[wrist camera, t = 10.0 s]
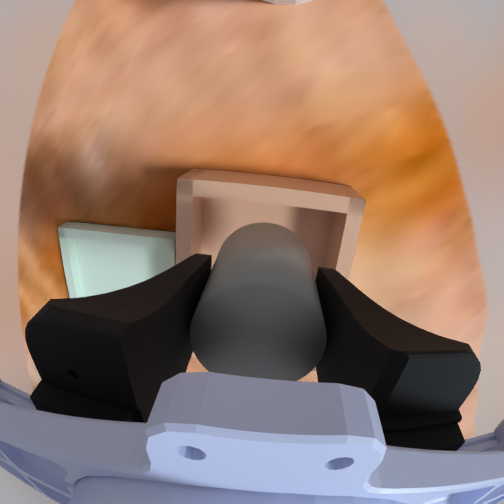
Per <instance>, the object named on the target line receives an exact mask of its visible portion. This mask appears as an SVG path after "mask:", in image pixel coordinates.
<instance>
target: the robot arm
mask: <svg viewBox="0 0 504 504" xmlns="http://www.w3.org/2000/svg"><path fill="white" fill-rule="evenodd" d="M211 265H212V255H207V254H198V253H196V254H194V255H192V256H190V257H188V258H187V259H185V260H183V261H182V262H180V263H178V264H176V265H175V266H173V267H171V268H169V269H168V270H166V271H164V272H162V273H160V274H158V275H156V276H154V277H152V278H150V279H148V280H145V281H143V282H140V283H138V284H135V285H132V286H130V287H126V288H123V289H119V290H116V291H112V292H108V293H104V294H99V295H93V296H87V297H79V298H65V299H50V300H49V301H48V302H47V303H46V304H45V305H44V306H43V307H42V308H41V310H40V311H39V312H38V313H37V314H36V315H35V316H34V317H33V318H32V319H31V320H30V321H29V322H28V323H27V326H26V329H25V338H26V342H27V346H28V349H29V352H30V354H31V357H32V359H33V361H34V363H35V366H36V368H37V370H38V372H39V375H40V377H41V379H42V380H41V381H40V383H39V384H38V386H37V387H36V389H35V390H34V391H33V393H32V395H29V394H27V393H25V392H23V391H21V390H19V389H17V388H15V387H13V386H11V385H9V384H7V383H5V382H3V381H1V380H0V466H1V467H2V468H4V469H5V470H7V471H8V472H9V473H11V474H13V475H14V476H15V477H17V478H18V479H20V480H21V481H23V482H24V483H26V484H27V485H29V486H31V487H32V488H34V489H35V490H37V491H39V492H40V493H42V494H44V495H46V496H47V497H49V498H51V499H53V500H54V501H56V502H58V503H60V504H497V503H499V502H501V501H503V500H504V420H503V421H502V422H501V423H500V424H499V425H498V426H497V427H496V429H495V430H494V432H492V433H488V434H485V435H482V436H478V437H474V438H470V439H466V440H464V438H463V435H462V433H461V430H460V428H459V425H458V422H460V421H461V419H462V416H461V414H460V411H459V408H460V406H461V405H462V404H463V402H464V401H465V399H466V398H467V397H468V395H469V394H470V392H471V391H472V389H473V388H474V386H475V384H476V382H477V381H478V378H479V375H480V371H481V367H480V362H479V360H478V358H477V357H476V355H475V353H474V352H473V350H472V349H471V347H470V346H469V344H466V343H463V342H459V341H455V340H452V339H448V338H444V337H441V336H439V335H436V334H433V333H430V332H428V331H425V330H423V329H421V328H418V327H416V326H414V325H412V324H410V323H408V322H406V321H404V320H402V319H400V318H398V317H397V316H395V315H393V314H392V313H390V312H389V311H387V310H385V309H384V308H382V307H381V306H379V305H378V304H377V303H375V302H374V301H373V300H371V299H370V298H369V297H367V296H366V295H365V294H364V293H362V292H361V291H360V290H359V289H358V288H356V287H355V286H354V285H353V284H352V283H351V282H349V281H348V280H347V279H346V278H345V277H344V276H343V275H341V274H340V273H339V272H338V271H336V270H335V269H333V268H323V267H318V270H317V275H316V280H315V282H316V286H317V290H318V295H319V299H320V304H321V308H322V313H323V318H324V322H325V327H326V332H327V343H326V348H325V351H324V354H323V356H322V358H321V360H320V361H319V363H318V364H317V365H316V370H317V376H318V382H301V381H287V380H274V379H263V378H254V377H245V376H236V375H228V374H221V373H214V372H192V373H185V372H186V369H187V366H188V363H189V361H190V358H191V356H192V353H193V349H192V346H191V343H190V325H191V321H192V319H193V316H194V313H195V311H196V308H197V306H198V303H199V301H200V298H201V295H202V293H203V290H204V288H205V285H206V283H207V280H208V278H209V275H210V273H211Z"/></svg>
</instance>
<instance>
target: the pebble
mask: <svg viewBox="0 0 504 504" xmlns="http://www.w3.org/2000/svg"><path fill="white" fill-rule="evenodd" d="M190 343H191V346H192V349H193V352H194V354H195V356H196V357H197V359H198V360H199V362H200V363H201V364H202V365H203V366H204V367H205V368H206V369H207V370H208V371H209V372H214V373H221V374H228V375H236V376H245V377H254V378H263V379H274V380H287V381H297V380H299V379H301V378H302V377H304V376H306V375H307V374H308V373H309V372H311V371H312V370H313V369H314V368H315V367H316V365H317V364H318V363H319V361H320V360H321V358H322V356H323V354H324V351H325V348H326V343H327V332H326V327H325V322H324V318H323V313H322V308H321V304H320V299H319V295H318V290H317V286H316V282H315V277H314V273H313V269H312V265H311V260H310V256H309V253H308V250H307V248H306V246H305V244H304V243H303V241H302V240H301V239H300V238H299V237H298V236H297V235H296V234H295V233H294V232H292V231H291V230H289V229H287V228H286V227H283V226H281V225H278V224H274V223H267V222H260V223H253V224H249V225H246V226H243V227H241V228H239V229H237V230H236V231H234V232H233V233H232V234H231V235H230V236H229V237H227V239H226V240H225V241H224V243H223V244H222V246H221V248H220V250H219V253H218V255H217V258H216V260H215V263H214V265H213V268H212V270H211V273H210V275H209V278H208V280H207V283H206V285H205V288H204V290H203V293H202V295H201V298H200V301H199V303H198V306H197V308H196V311H195V313H194V316H193V319H192V321H191V325H190Z"/></svg>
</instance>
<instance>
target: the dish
mask: <svg viewBox="0 0 504 504" xmlns="http://www.w3.org/2000/svg"><path fill="white" fill-rule="evenodd" d="M365 202H366V200H365V199H364V198H363V197H362V196H361V195H360V194H359V193H358V192H357V191H355V190H354V189H353V188H352V187H351V186H346V185H340V184H333V183H327V182H320V181H313V180H305V179H297V178H290V177H281V176H273V175H264V174H254V173H244V172H233V171H221V170H209V169H195V168H193V169H192V170H190V171H188V172H187V173H185V174H183V175H182V176H180V177H179V178H177V194H176V264H178V263H180V262H182V261H183V260H185V259H187V258H188V257H190V256H192V255H194V254H196V253H198V254H207V255H212V265H211V270H212V268H213V265H214V263H215V260H216V258H217V255H218V253H219V250H220V248H221V246H222V244H223V243H224V241H225V240H226V239H227V237H229V236H230V235H231V234H232V233H233V232H234V231H236V230H237V229H239V228H241V227H243V226H246V225H249V224H253V223H260V222H267V223H274V224H278V225H281V226H283V227H286V228H287V229H289V230H291V231H292V232H294V233H295V234H296V235H297V236H298V237H299V238H300V239H301V240H302V241H303V243H304V244H305V246H306V248H307V250H308V253H309V256H310V260H311V265H312V269H313V273H314V277H315V280H316V275H317V270H318V267H323V268H333V269H335V270H336V271H338V272H339V273H340V274H341V275H343V276H344V277H345V278H346V279H347V280H348V278H349V274H350V270H351V266H352V262H353V258H354V254H355V249H356V245H357V241H358V236H359V231H360V227H361V222H362V217H363V212H364V207H365ZM191 357H192V358H197V357H196V356H195V354H194V352H193V353H192V356H191ZM312 371H317V370H316V367H315V368H314V369H313V370H312Z"/></svg>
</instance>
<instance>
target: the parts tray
mask: <svg viewBox="0 0 504 504" xmlns="http://www.w3.org/2000/svg"><path fill="white" fill-rule="evenodd" d="M58 233H59V240H60V247H61V253H62V259H63V265H64V271H65V276H66V281H67V286H68V291H69V296H70V298H79V297H87V296H93V295H99V294H104V293H108V292H112V291H116V290H119V289H123V288H126V287H130V286H132V285H135V284H138V283H140V282H143V281H145V280H148V279H150V278H152V277H154V276H156V275H158V274H160V273H162V272H164V271H166V270H168V269H169V268H171V267H173V266H175V265H176V232H169V231H160V230H150V229H140V228H130V227H120V226H110V225H100V224H89V223H79V222H68V221H67V222H66V223H64V224H62V225H61V226H59V227H58Z"/></svg>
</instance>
